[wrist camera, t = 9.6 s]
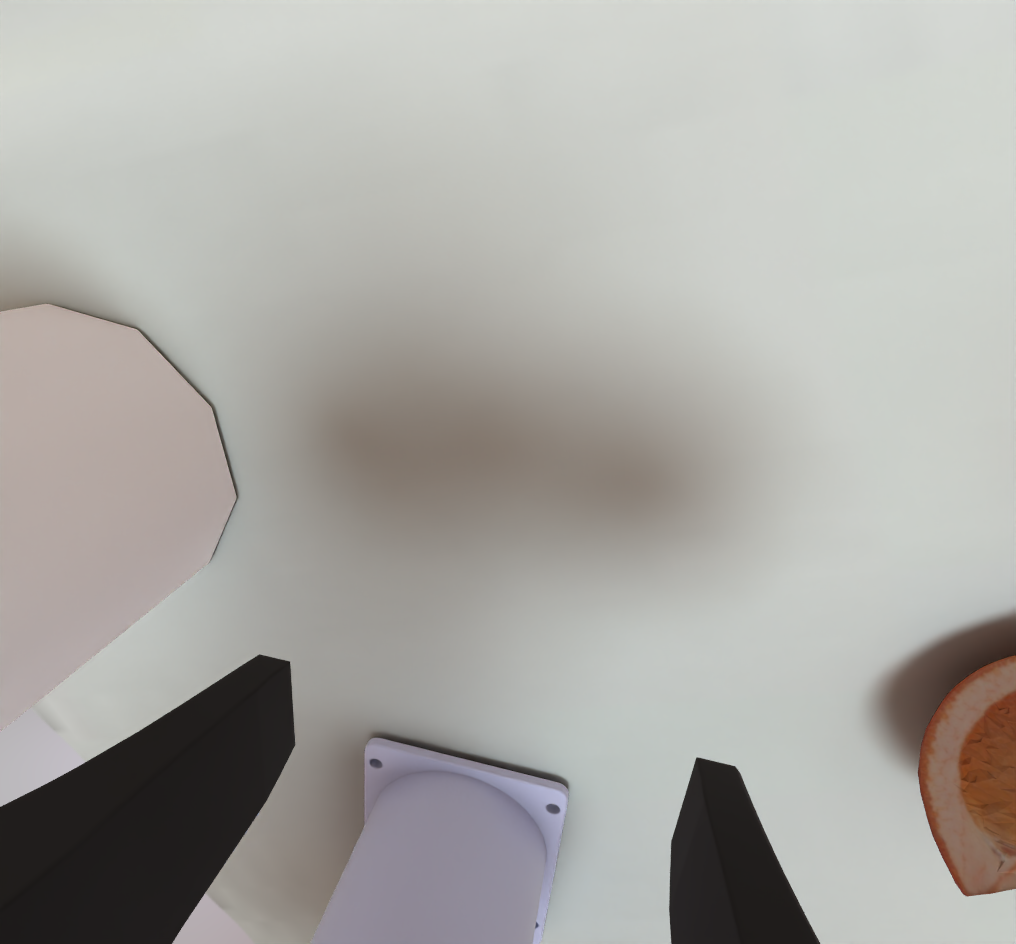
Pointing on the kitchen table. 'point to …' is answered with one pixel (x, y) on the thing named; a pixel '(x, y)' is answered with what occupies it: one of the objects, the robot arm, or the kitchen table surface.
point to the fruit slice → (974, 779)
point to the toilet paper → (94, 491)
